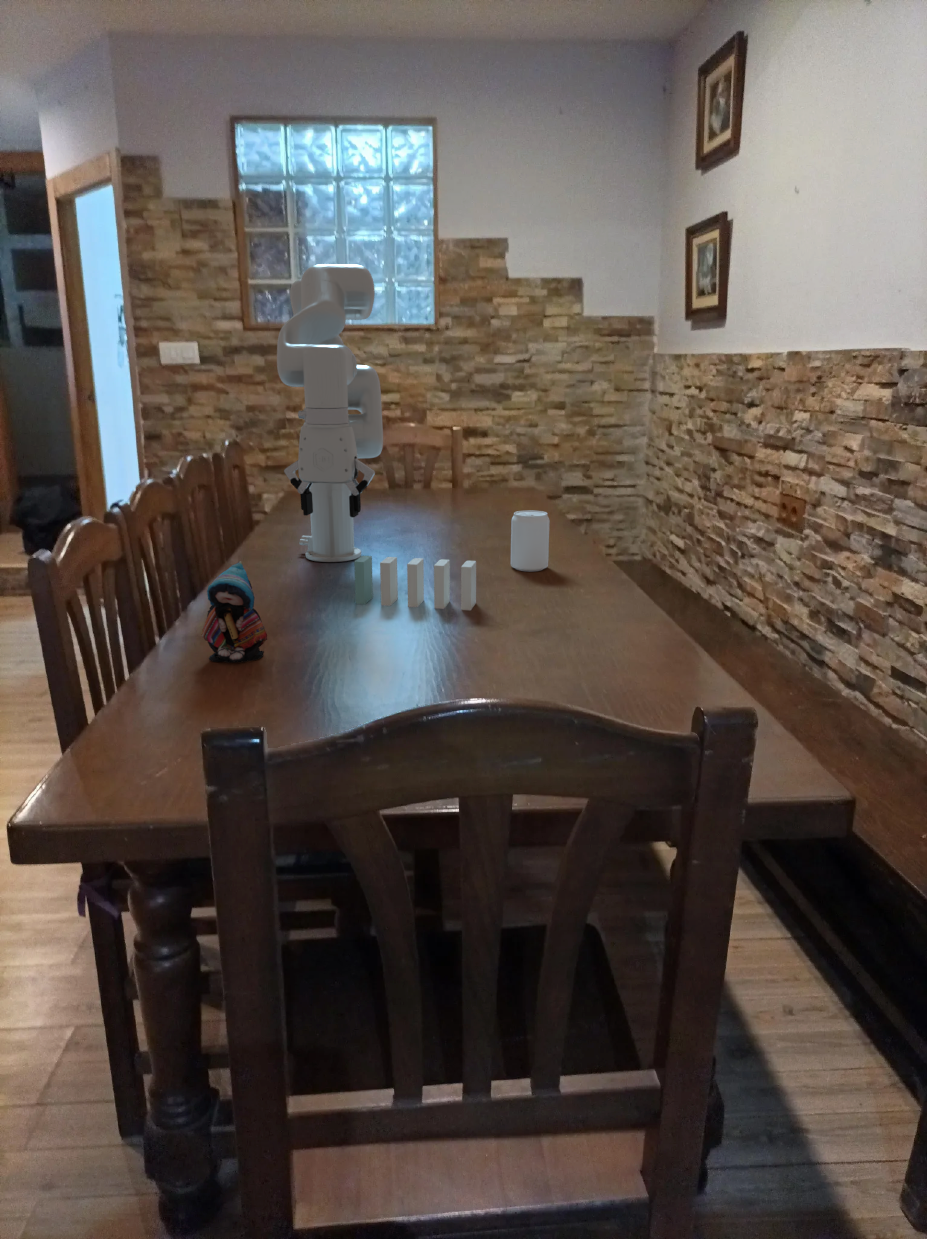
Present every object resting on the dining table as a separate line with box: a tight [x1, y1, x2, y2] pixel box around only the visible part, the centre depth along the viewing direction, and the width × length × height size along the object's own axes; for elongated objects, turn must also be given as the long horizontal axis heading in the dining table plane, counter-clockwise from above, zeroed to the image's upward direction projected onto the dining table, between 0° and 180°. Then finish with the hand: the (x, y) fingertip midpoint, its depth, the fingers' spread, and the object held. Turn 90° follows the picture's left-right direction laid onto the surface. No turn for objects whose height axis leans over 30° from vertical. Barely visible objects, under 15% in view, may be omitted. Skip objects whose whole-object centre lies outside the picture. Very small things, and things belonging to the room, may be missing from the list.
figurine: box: [200, 560, 268, 663], centre depth 128 cm, size 10×7×15 cm
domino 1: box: [353, 555, 374, 605], centre depth 161 cm, size 2×5×8 cm, turn 168°
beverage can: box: [510, 509, 551, 573], centre depth 185 cm, size 8×8×12 cm
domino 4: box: [433, 558, 451, 610], centre depth 158 cm, size 2×5×8 cm, turn 169°
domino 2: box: [379, 556, 399, 607], centre depth 160 cm, size 2×5×8 cm, turn 169°
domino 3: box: [406, 557, 425, 608], centre depth 159 cm, size 2×5×8 cm, turn 169°
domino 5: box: [460, 560, 477, 611], centre depth 157 cm, size 2×5×8 cm, turn 169°
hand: (331, 514), depth 159 cm, fingers open, 8 cm apart
